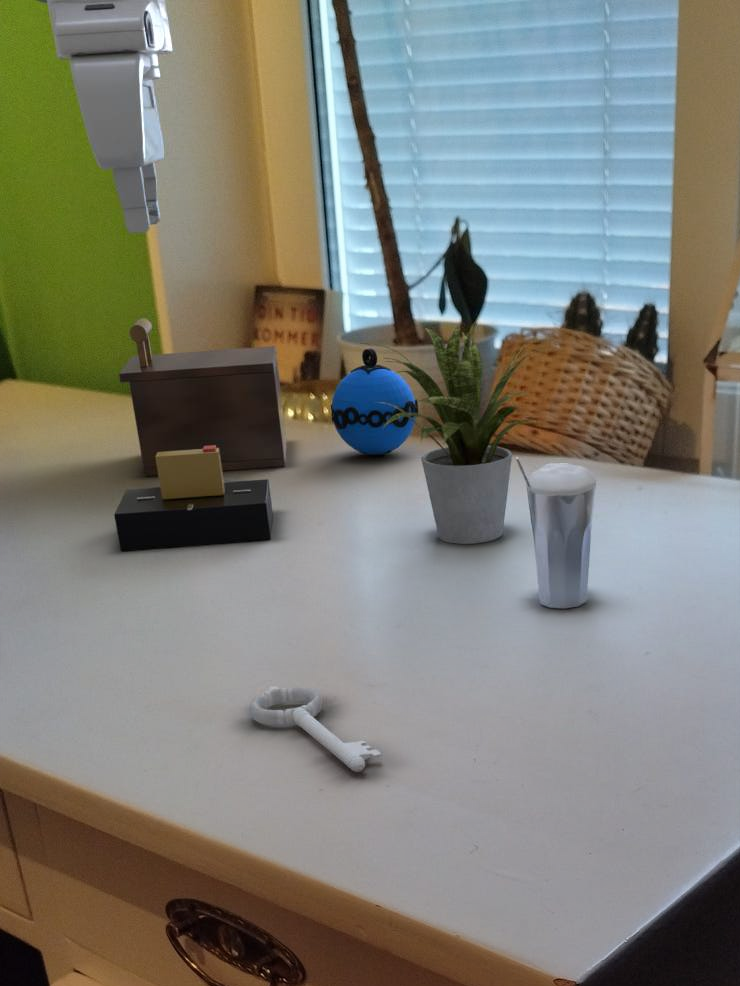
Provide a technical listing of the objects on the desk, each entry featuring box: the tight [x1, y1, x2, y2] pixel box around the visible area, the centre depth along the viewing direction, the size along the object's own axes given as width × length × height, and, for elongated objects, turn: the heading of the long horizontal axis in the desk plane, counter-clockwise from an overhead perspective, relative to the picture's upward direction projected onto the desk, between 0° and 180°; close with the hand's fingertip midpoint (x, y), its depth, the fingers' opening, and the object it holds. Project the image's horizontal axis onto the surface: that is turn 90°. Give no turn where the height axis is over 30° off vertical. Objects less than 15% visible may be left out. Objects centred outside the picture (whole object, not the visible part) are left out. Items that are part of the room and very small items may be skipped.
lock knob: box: [156, 445, 225, 500], centre depth 107 cm, size 5×2×4 cm, turn 96°
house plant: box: [360, 318, 546, 545], centre depth 102 cm, size 14×14×16 cm
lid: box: [118, 317, 277, 383], centre depth 127 cm, size 14×11×5 cm
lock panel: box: [113, 478, 274, 552], centre depth 109 cm, size 12×9×3 cm
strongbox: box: [128, 355, 288, 477], centre depth 131 cm, size 14×11×9 cm
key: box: [249, 686, 383, 773], centre depth 72 cm, size 12×1×4 cm
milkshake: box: [515, 457, 597, 610], centre depth 87 cm, size 4×5×10 cm
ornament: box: [330, 347, 419, 457], centre depth 129 cm, size 9×9×10 cm
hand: (145, 228), depth 108 cm, fingers open, 8 cm apart
